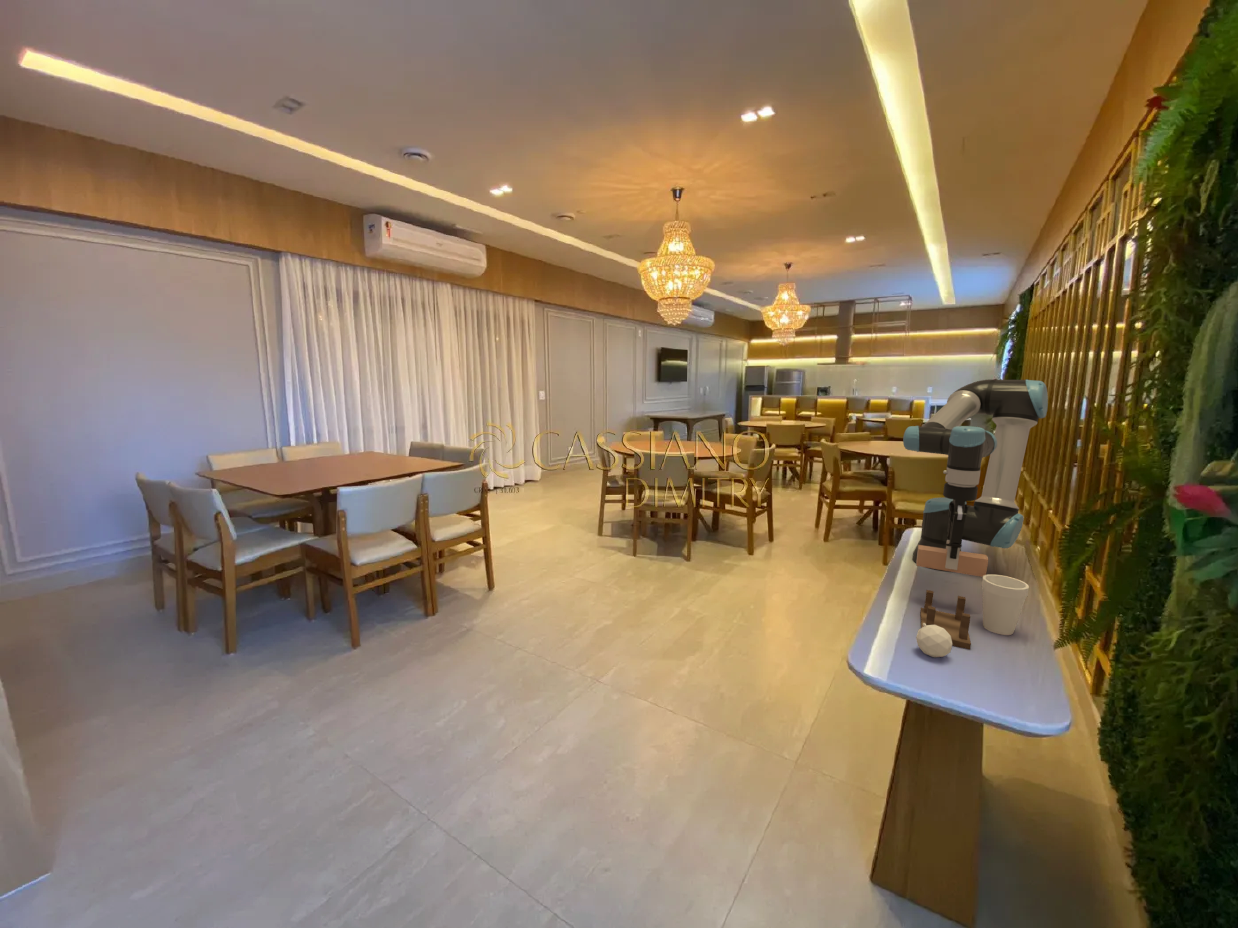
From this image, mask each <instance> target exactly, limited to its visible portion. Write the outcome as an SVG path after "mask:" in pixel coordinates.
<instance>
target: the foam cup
mask: <svg viewBox="0 0 1238 928" xmlns="http://www.w3.org/2000/svg"><path fill="white" fill-rule="evenodd" d="M1029 587H1030V586H1029V584H1027V583H1026V582H1025V581H1023V580H1020V579H1018V578H1016V577H1015V578H1014V577H1010V576H1007V575H1001V574H986V575H984V576H983V577H982V581H981V588H982V627H983V628H984V629H985V630H987V631H989V632H991V633H994V634H996V635H1000V636H1001V635H1002V636H1010V635H1011V636H1012V635H1013V634H1014V632H1015V629H1016V627H1017V624H1018V622H1019V619H1020V615H1021V612H1022V610H1023V607H1024V604H1025V601H1026V598H1027V597H1028V595H1029V589H1030V588H1029Z"/></svg>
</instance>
